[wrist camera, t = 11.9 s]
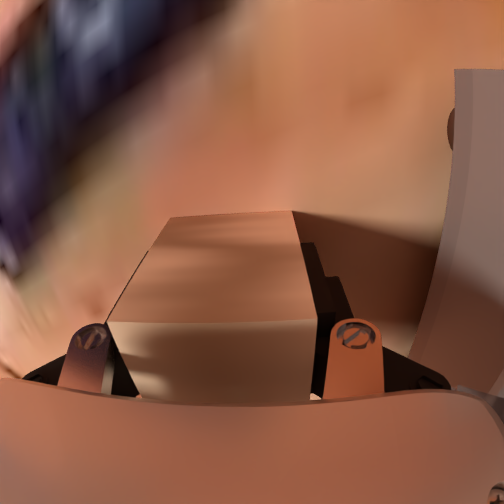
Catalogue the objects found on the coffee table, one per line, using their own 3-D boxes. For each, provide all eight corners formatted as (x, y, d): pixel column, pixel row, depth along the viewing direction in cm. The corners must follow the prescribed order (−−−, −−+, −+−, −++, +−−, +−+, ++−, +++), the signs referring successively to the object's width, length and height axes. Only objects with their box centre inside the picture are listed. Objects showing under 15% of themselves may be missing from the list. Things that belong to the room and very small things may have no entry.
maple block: (189, 313, 14) (158, 428, 8) (170, 217, 12) (106, 321, 6) (291, 309, 14) (305, 430, 8) (291, 210, 11) (317, 318, 6)
